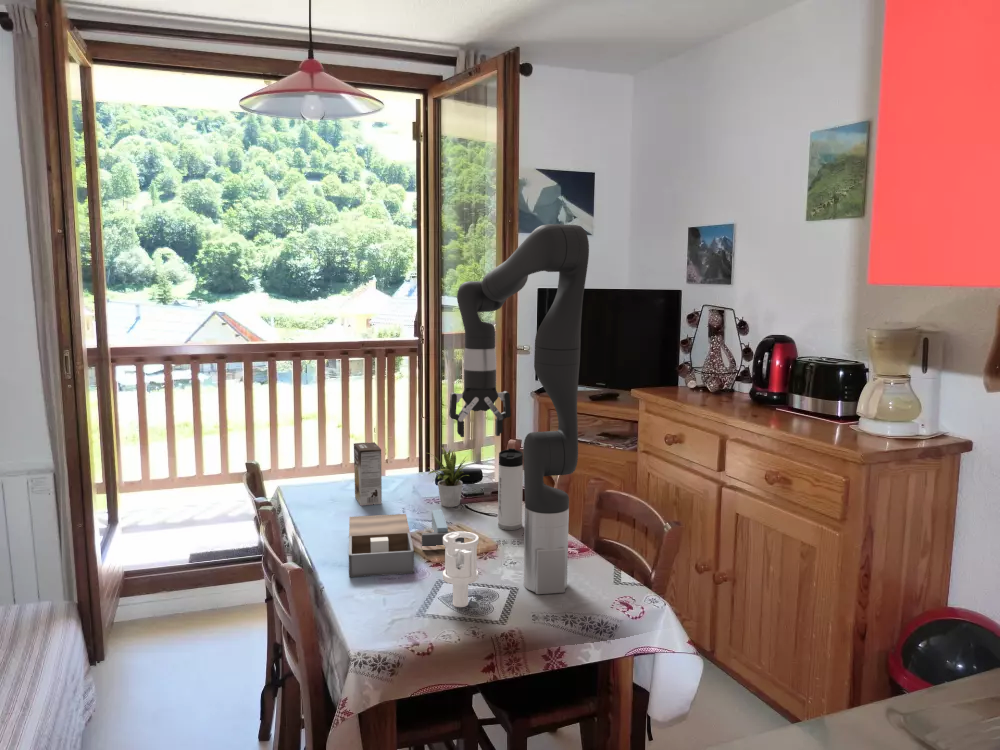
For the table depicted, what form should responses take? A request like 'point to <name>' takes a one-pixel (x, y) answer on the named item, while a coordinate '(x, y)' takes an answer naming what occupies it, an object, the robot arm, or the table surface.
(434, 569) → the table surface
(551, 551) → the robot arm
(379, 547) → the tile
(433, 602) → the table surface
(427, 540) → the scraper
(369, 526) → the wooden box lid
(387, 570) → the box
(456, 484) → the house plant
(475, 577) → the white slotted cylindrical fitting
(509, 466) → the travel mug
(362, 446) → the coffee box
